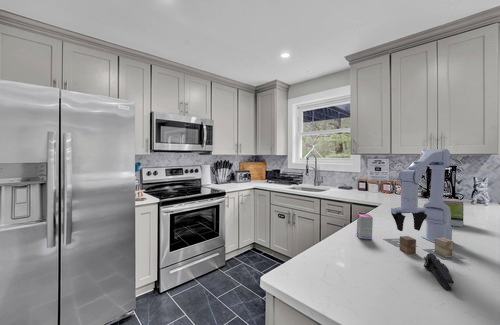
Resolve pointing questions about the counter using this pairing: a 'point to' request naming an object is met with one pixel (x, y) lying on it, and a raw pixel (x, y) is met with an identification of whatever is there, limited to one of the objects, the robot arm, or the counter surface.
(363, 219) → the supplement box
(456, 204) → the tea box
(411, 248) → the walnut block
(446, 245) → the oak block
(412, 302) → the counter surface
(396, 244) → the tile
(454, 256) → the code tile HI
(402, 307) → the counter surface
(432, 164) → the robot arm
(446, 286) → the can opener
